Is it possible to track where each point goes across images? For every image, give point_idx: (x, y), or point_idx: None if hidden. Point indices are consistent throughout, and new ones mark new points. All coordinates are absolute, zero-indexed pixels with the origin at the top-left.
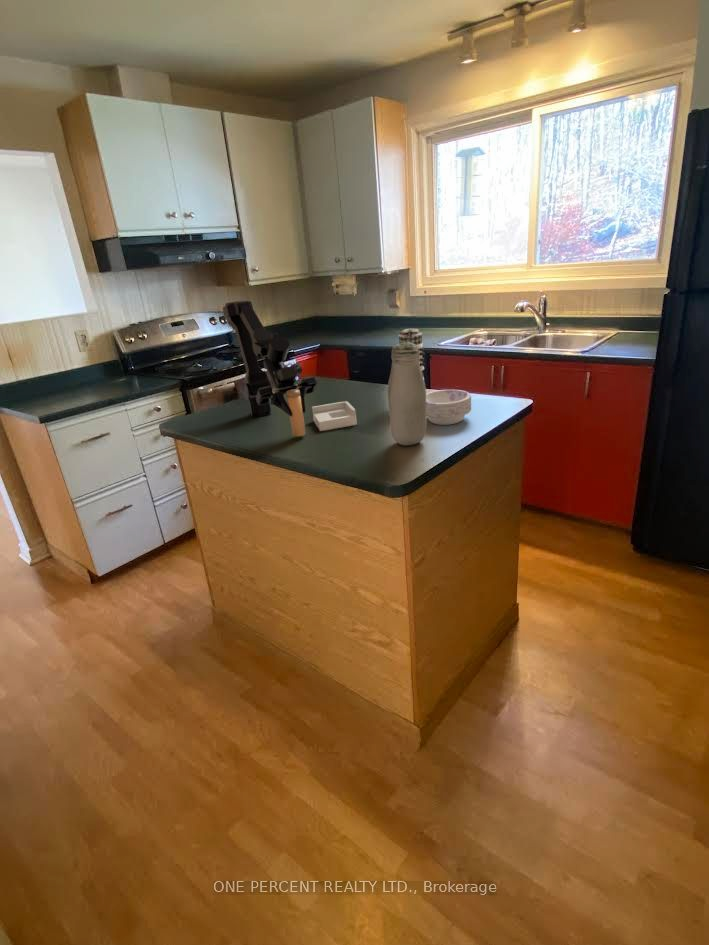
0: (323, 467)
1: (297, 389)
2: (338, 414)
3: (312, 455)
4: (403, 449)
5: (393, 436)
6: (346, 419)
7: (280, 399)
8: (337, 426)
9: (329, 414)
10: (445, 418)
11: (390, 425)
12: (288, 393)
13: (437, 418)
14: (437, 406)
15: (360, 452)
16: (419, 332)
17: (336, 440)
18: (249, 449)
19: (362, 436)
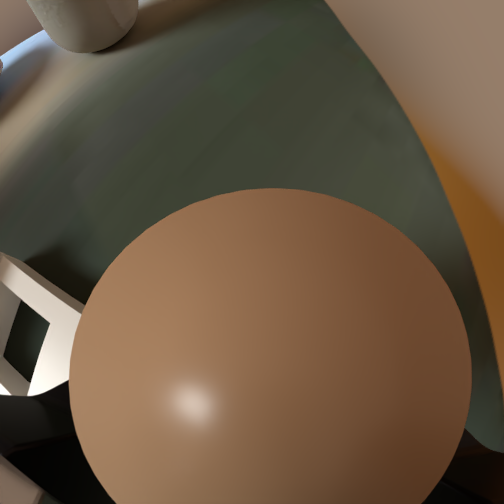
0: (358, 47)
1: (82, 426)
2: (4, 376)
3: (347, 119)
4: (143, 23)
5: (130, 15)
6: (26, 271)
7: (475, 447)
8: (70, 297)
9: None
10: (2, 63)
11: (110, 6)
12: (459, 327)
13: (1, 71)
14: None
15: (216, 49)
16: None
17: (182, 170)
18: (498, 385)
19: (103, 139)
